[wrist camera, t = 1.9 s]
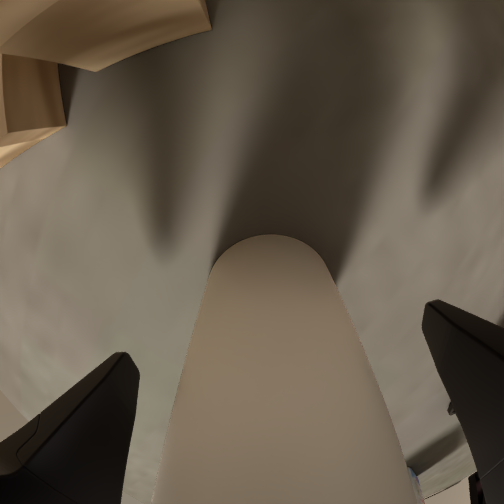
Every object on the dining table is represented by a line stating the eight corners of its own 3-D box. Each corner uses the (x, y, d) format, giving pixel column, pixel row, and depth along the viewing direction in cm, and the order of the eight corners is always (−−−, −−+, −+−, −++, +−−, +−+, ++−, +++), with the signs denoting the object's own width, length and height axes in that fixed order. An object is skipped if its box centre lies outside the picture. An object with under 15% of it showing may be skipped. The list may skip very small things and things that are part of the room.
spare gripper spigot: (325, 223, 9) (462, 469, 2) (333, 328, 11) (388, 526, 3) (192, 248, 9) (88, 496, 2) (224, 346, 11) (203, 545, 4)
